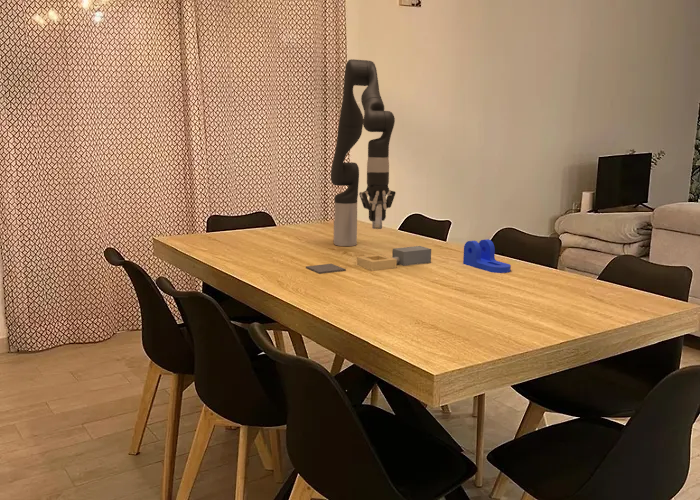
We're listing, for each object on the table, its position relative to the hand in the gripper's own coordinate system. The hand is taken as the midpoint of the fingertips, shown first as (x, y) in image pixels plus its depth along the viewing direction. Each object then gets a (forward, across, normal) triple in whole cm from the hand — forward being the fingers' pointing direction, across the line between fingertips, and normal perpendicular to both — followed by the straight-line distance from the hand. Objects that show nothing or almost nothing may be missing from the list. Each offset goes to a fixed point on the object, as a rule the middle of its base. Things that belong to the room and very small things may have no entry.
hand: (377, 220), depth 242 cm
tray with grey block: (+16, -8, 0) cm, 18 cm away
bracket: (+17, -34, +20) cm, 43 cm away
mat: (+16, +18, -4) cm, 24 cm away
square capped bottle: (+3, 0, 0) cm, 3 cm away
